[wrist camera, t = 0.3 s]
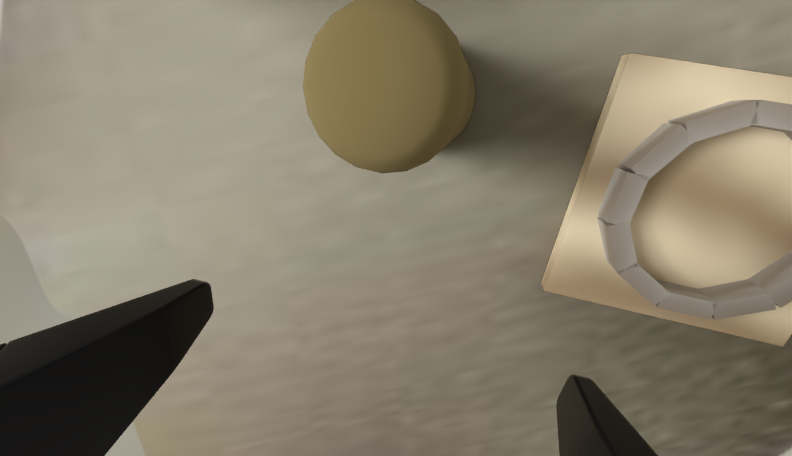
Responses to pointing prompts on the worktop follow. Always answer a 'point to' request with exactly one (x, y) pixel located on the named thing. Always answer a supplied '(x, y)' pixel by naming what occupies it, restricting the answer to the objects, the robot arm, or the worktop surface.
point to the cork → (387, 84)
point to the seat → (686, 200)
